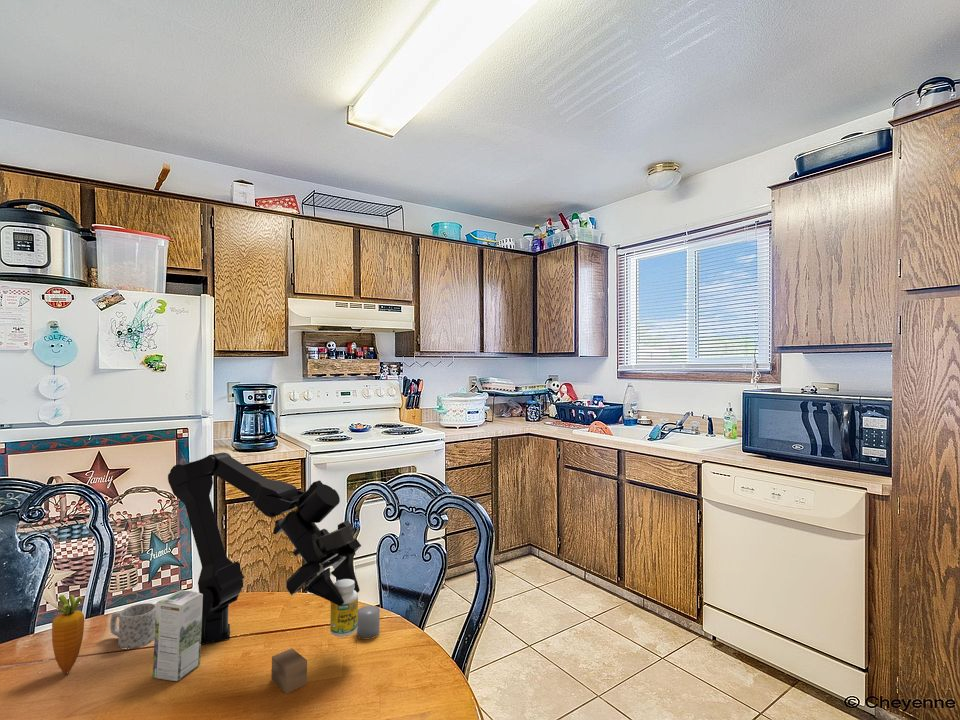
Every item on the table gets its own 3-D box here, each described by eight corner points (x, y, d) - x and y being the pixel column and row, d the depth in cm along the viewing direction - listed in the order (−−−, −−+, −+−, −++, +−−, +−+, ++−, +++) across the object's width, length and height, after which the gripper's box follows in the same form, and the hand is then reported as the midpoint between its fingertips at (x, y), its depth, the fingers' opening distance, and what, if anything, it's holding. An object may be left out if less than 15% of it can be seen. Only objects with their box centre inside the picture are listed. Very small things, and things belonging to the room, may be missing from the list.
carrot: (89, 668, 97) (91, 591, 98) (60, 683, 92) (63, 601, 93) (72, 663, 99) (74, 587, 99) (43, 677, 94) (46, 597, 95)
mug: (162, 634, 110) (163, 604, 110) (137, 651, 104) (138, 618, 104) (124, 630, 112) (125, 600, 112) (96, 646, 105) (97, 614, 106)
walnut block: (271, 680, 94) (271, 656, 94) (291, 671, 97) (291, 648, 97) (286, 694, 90) (286, 669, 90) (306, 684, 93) (307, 660, 93)
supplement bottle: (352, 621, 104) (353, 575, 104) (361, 632, 99) (362, 584, 100) (326, 628, 101) (327, 580, 101) (334, 640, 96) (335, 590, 97)
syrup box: (176, 661, 100) (178, 588, 100) (201, 665, 99) (203, 591, 99) (152, 678, 94) (154, 601, 95) (178, 682, 93) (180, 604, 94)
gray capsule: (354, 630, 113) (354, 608, 113) (375, 625, 115) (376, 603, 115) (359, 641, 108) (360, 618, 108) (382, 635, 111) (382, 613, 111)
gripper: (301, 524, 93) (350, 593, 89) (354, 501, 111) (397, 557, 107) (265, 561, 95) (311, 629, 92) (323, 532, 113) (364, 588, 109)
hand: (350, 598), depth 100 cm, fingers closed on supplement bottle, 5 cm apart
